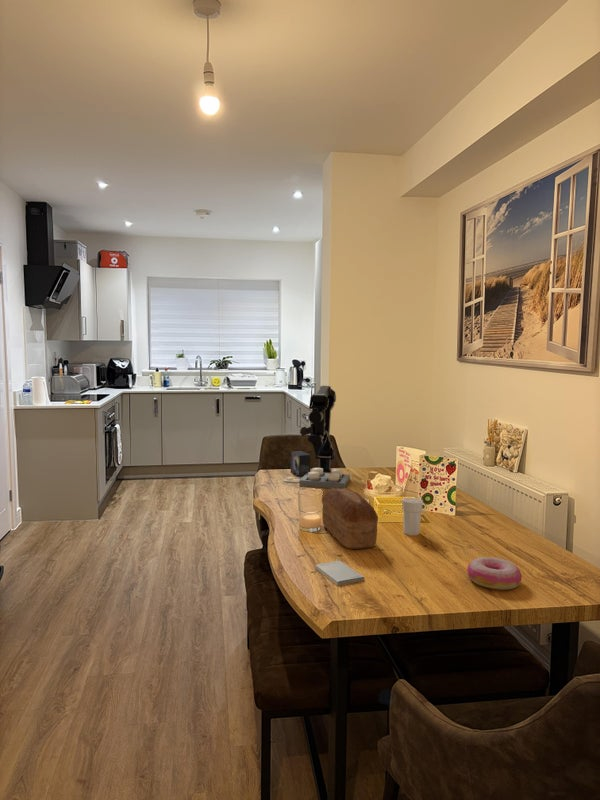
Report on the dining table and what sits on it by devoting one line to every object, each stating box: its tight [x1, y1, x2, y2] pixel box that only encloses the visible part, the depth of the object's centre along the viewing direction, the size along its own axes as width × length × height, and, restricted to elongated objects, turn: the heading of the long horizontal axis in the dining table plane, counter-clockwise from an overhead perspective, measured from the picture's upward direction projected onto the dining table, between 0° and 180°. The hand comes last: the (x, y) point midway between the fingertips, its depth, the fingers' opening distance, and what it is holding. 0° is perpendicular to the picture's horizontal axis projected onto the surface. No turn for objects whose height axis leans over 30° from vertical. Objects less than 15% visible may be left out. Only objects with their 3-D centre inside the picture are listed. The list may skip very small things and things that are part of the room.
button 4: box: [330, 468, 343, 478], centre depth 253 cm, size 5×5×3 cm
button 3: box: [328, 472, 339, 482], centre depth 244 cm, size 5×5×3 cm
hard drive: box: [314, 560, 365, 586], centre depth 147 cm, size 2×8×12 cm
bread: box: [321, 487, 379, 550], centre depth 177 cm, size 12×28×14 cm, turn 15°
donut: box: [466, 556, 523, 591], centre depth 144 cm, size 14×13×5 cm
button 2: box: [311, 467, 324, 476], centre depth 255 cm, size 5×5×3 cm
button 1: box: [308, 471, 319, 481], centre depth 246 cm, size 5×5×3 cm
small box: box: [290, 450, 311, 478], centre depth 266 cm, size 11×6×10 cm, turn 25°
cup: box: [401, 497, 424, 536], centre depth 181 cm, size 7×7×11 cm
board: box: [283, 472, 351, 489], centre depth 251 cm, size 18×28×2 cm, turn 77°
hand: (318, 454), depth 254 cm, fingers open, 5 cm apart
